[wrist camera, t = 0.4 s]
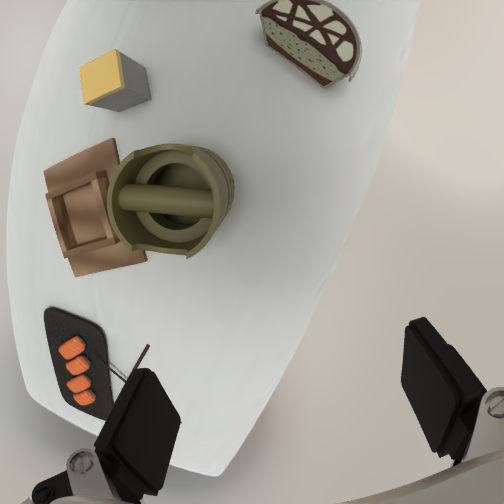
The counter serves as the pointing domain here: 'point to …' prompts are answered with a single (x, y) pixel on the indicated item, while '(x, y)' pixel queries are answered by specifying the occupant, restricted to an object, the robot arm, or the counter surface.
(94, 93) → the gold and gray block
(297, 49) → the food container
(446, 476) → the robot arm
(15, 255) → the counter surface
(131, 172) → the piston
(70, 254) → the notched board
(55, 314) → the sushi plate
